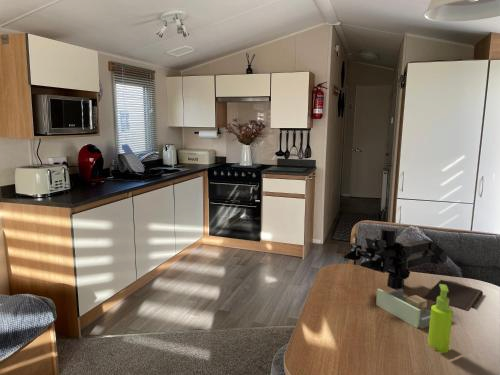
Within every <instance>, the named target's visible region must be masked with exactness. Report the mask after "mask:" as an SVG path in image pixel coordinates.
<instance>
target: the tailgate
mask: <svg viewBox="0 0 500 375" xmlns="http://www.w3.org/2000/svg"><path fill="white" fill-rule="evenodd" d="M375 299H376V301H375V302H376V303H375V305H376V306H377V307H378V308H379V307H380V308H381V309H383V310H385V311H387V312H388V313H390V314H391V315H393V316H395V317H396V318H398V319H400V320H402V321H404V322H406V324H407V323H408V324H409V325H410V326H412V327H415V328H416V329H419V328H420V327H419V320H420V309H418V308H416V307H414V306H412V305H410V304H408V303H406V302H404V301H402V300H400V299H398V298H396V297H394V296H393V295H391V294H389V293H388V292H387V291H385V290H382V289H381V288H377V289H376V298H375Z"/></svg>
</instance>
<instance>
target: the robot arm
mask: <svg viewBox="0 0 500 375" xmlns="http://www.w3.org/2000/svg"><path fill="white" fill-rule="evenodd" d="M397 234H398V229H397V228H395V227H386V226H383V227H381V228H380V237H379V236H378V235H375V234H370V235H368V236H366V237H365V242H366V245H367V246H365V250H363V248H362V245H360V244H358V243H355V242H353V243H350V245H349V251H347V253H345V254H343V259H345V260H346V259H347V260H349V261H350V260H351V261H354V262H355V261H359V260H361V258H362V257H363V258H364V259H365V261H362V262H360V264H359V266H360V267H362V268H366V269H370V270H373V271H376V272H378V273H382V274H384V273H386V274H388V276H387V277H388V278H387V283H386V286H387V287H388V288H391V289H403V288H404V286H405V280H407V279H408V278H409V277H410V274H411V272H410V271H409V269H411V268H415V267H420V266H424V265H427V264H433V265H443V264H445V263H446V262H447V260H448V256H447V253H446V251H444V250H443V249H442V248H441V247H440V246H438V244H437V243H436V242H435V241H434V240H431V239H427V238H423V239H422V240H417V241H412V242H399V241H397ZM417 253H418V254H417Z"/></svg>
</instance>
